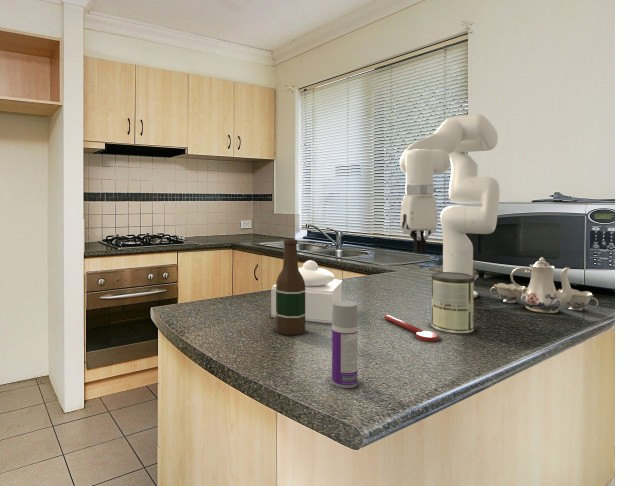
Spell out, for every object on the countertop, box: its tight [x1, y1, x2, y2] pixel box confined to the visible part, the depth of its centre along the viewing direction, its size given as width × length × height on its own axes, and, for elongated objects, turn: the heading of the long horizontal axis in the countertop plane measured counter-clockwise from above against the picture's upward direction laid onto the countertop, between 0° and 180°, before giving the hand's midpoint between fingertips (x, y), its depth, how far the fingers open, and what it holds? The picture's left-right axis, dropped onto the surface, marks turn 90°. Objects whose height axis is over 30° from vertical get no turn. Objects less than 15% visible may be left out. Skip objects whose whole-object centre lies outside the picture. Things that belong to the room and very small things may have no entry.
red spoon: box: [384, 314, 439, 342], centre depth 115 cm, size 20×5×1 cm, turn 15°
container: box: [331, 300, 359, 389], centre depth 82 cm, size 5×5×15 cm
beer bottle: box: [275, 238, 306, 336], centre depth 113 cm, size 8×8×24 cm
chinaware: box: [489, 256, 599, 314], centre depth 137 cm, size 28×17×17 cm, turn 62°
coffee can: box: [430, 271, 475, 335], centre depth 116 cm, size 10×10×14 cm
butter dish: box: [270, 259, 343, 324], centre depth 132 cm, size 18×18×16 cm
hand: (419, 253), depth 129 cm, fingers closed
